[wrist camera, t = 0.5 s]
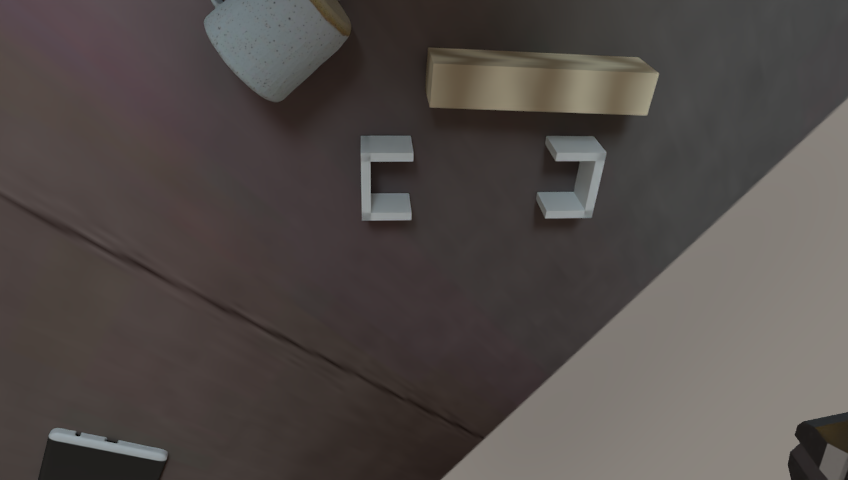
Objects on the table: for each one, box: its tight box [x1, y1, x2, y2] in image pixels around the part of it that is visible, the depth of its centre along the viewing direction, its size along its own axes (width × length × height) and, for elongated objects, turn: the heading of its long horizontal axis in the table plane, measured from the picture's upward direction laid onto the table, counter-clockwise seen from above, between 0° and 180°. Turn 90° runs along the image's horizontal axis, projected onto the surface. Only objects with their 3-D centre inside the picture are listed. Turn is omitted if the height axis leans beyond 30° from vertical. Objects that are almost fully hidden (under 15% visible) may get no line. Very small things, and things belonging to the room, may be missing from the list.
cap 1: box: [361, 136, 414, 221], centre depth 53 cm, size 4×7×4 cm
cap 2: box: [536, 136, 607, 218], centre depth 55 cm, size 4×7×4 cm
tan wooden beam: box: [425, 47, 659, 115], centre depth 49 cm, size 18×4×4 cm, turn 86°
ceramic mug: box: [204, 0, 351, 102], centre depth 42 cm, size 11×8×8 cm
